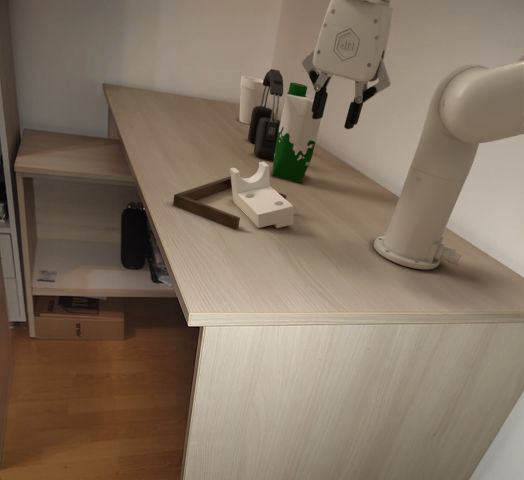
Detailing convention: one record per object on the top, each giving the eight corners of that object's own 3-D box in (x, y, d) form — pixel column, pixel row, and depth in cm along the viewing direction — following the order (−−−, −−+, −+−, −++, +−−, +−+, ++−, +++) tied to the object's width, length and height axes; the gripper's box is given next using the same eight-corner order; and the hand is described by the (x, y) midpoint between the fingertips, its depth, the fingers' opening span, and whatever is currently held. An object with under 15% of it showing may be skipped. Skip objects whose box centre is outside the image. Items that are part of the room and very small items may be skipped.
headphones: (278, 162, 130) (295, 78, 118) (254, 158, 128) (269, 73, 117) (266, 141, 147) (280, 66, 136) (246, 138, 146) (258, 62, 135)
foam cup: (230, 117, 167) (236, 74, 160) (255, 120, 171) (262, 78, 164) (241, 124, 161) (248, 80, 153) (266, 127, 165) (274, 84, 157)
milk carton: (274, 167, 125) (291, 80, 114) (308, 176, 124) (329, 89, 113) (267, 175, 118) (285, 83, 106) (303, 185, 117) (325, 93, 106)
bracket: (233, 205, 99) (230, 168, 94) (265, 198, 101) (263, 161, 96) (258, 232, 90) (256, 193, 85) (293, 223, 92) (293, 184, 87)
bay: (284, 204, 103) (286, 195, 102) (235, 229, 86) (237, 218, 85) (229, 184, 107) (231, 175, 105) (173, 205, 90) (173, 194, 89)
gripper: (304, -25, 70) (277, 111, 81) (417, -1, 66) (374, 140, 76) (322, -18, 76) (295, 108, 87) (428, 5, 72) (386, 135, 82)
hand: (332, 122), depth 81 cm, fingers open, 5 cm apart
